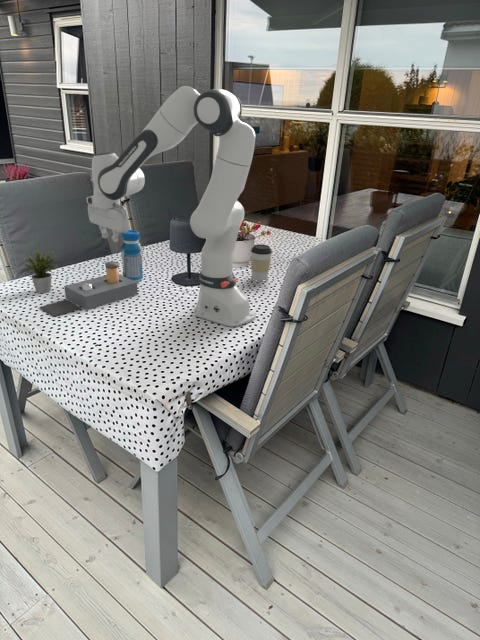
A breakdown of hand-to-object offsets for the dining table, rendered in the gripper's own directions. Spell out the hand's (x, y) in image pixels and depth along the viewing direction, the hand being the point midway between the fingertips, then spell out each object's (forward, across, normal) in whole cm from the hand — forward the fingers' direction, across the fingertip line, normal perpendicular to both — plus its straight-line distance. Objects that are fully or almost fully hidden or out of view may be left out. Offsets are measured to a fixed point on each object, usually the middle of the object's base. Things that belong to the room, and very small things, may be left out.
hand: (110, 239), depth 164 cm
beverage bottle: (+21, +8, -15) cm, 27 cm away
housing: (+21, 0, +5) cm, 22 cm away
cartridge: (+21, 0, 0) cm, 21 cm away
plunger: (+20, 0, +11) cm, 23 cm away
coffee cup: (+21, -27, -56) cm, 66 cm away
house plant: (+21, +18, +19) cm, 34 cm away
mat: (+21, 0, +22) cm, 30 cm away
